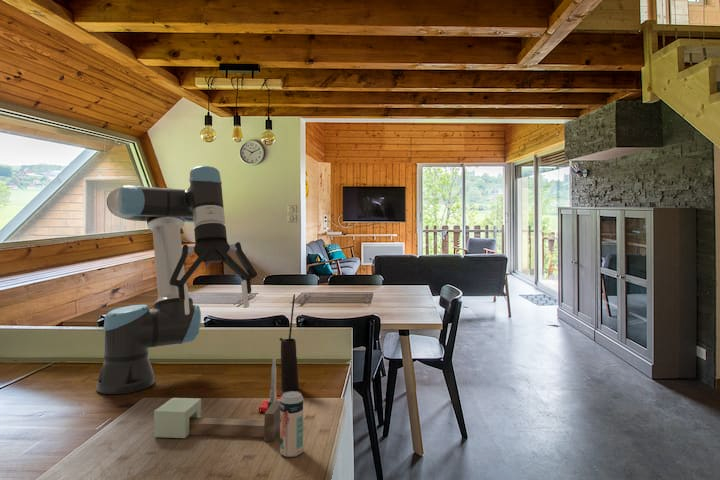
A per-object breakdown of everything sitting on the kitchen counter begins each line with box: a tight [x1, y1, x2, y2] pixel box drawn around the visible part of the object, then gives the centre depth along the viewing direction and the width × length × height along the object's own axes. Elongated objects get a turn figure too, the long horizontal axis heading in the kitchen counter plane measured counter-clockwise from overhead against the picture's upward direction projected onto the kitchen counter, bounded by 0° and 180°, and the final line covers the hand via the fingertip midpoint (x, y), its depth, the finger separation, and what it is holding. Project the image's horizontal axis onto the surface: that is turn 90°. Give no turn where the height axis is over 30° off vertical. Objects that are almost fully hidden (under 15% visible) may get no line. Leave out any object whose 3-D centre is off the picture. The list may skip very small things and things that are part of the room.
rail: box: [189, 402, 280, 443], centre depth 98 cm, size 27×7×6 cm, turn 86°
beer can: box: [279, 390, 304, 458], centre depth 89 cm, size 5×5×12 cm
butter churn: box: [279, 294, 300, 393], centre depth 126 cm, size 9×10×28 cm
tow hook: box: [258, 356, 282, 412], centre depth 113 cm, size 9×14×10 cm
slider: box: [153, 397, 202, 439], centre depth 98 cm, size 7×8×6 cm
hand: (217, 310), depth 103 cm, fingers open, 13 cm apart
